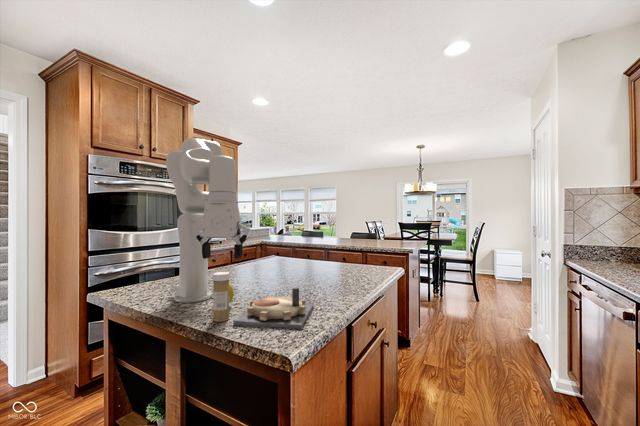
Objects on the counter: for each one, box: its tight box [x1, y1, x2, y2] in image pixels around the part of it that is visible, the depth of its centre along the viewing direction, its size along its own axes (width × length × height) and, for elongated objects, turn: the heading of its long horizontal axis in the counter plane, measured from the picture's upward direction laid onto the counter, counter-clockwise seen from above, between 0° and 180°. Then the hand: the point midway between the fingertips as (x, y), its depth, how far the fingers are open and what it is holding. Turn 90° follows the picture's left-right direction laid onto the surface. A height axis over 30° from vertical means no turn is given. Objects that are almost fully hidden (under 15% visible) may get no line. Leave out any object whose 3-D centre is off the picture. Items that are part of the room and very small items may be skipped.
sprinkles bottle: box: [212, 271, 231, 323], centre depth 80 cm, size 5×5×13 cm
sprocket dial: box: [246, 287, 306, 321], centre depth 84 cm, size 18×18×7 cm
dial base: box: [232, 302, 315, 330], centre depth 84 cm, size 19×19×1 cm
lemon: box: [229, 283, 235, 304], centre depth 93 cm, size 6×6×8 cm
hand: (222, 258), depth 80 cm, fingers open, 9 cm apart
